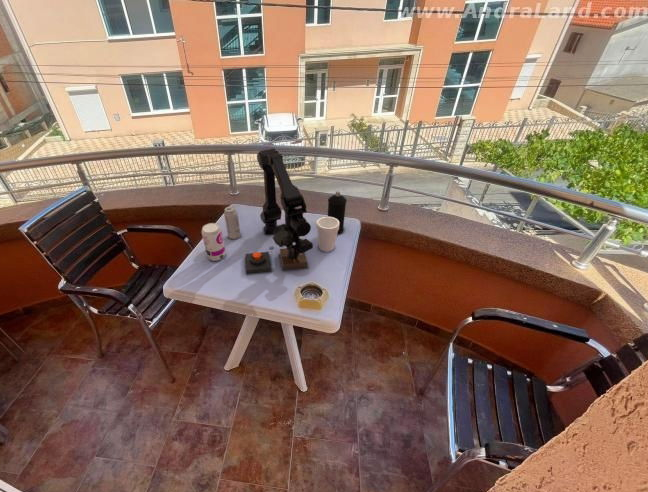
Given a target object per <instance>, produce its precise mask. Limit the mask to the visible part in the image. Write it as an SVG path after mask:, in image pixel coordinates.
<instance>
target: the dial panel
mask: <svg viewBox="0 0 648 492" xmlns="http://www.w3.org/2000/svg"><path fill="white" fill-rule="evenodd" d="M279 255H280V261H281V266H282V271H290V270H297V269H298V270H300V269H307V268H308V260H307V257H306V252H305V253H299V255H298V257H296V258H290V257H289V256H288V249H287V247H285V248H279Z"/></svg>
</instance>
